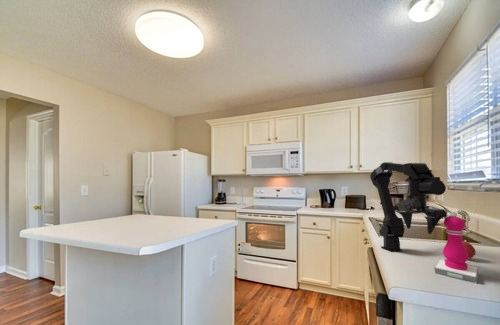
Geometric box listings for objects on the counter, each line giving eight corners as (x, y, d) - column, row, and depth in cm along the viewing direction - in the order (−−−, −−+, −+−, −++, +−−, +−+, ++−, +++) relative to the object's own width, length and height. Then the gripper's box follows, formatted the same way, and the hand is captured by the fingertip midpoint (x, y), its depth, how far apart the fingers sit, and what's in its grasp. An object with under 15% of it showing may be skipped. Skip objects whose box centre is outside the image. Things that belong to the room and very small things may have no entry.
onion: (479, 262, 96) (478, 242, 96) (463, 261, 97) (462, 241, 98) (469, 257, 102) (468, 238, 102) (454, 256, 103) (453, 238, 103)
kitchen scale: (435, 273, 85) (434, 267, 85) (439, 265, 93) (439, 259, 93) (476, 283, 77) (476, 276, 77) (478, 273, 85) (478, 267, 85)
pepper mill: (470, 272, 80) (467, 214, 81) (443, 267, 85) (441, 212, 86) (468, 266, 86) (466, 212, 87) (443, 261, 91) (441, 210, 92)
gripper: (383, 191, 103) (384, 226, 103) (423, 195, 85) (425, 238, 84) (403, 191, 106) (404, 225, 105) (446, 194, 88) (448, 236, 87)
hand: (418, 231), depth 95 cm, fingers open, 9 cm apart
